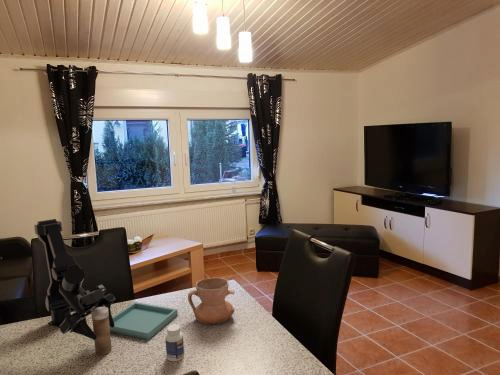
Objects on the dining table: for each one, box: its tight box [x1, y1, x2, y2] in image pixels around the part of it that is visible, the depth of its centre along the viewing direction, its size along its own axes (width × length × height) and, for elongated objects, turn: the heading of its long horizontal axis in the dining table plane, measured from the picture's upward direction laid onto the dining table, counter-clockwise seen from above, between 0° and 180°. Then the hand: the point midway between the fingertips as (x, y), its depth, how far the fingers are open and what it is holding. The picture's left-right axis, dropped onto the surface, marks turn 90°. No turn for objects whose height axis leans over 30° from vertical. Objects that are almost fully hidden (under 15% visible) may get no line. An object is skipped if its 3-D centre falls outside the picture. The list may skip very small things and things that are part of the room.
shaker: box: [90, 307, 113, 357], centre depth 115 cm, size 5×5×14 cm
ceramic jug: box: [187, 277, 236, 326], centre depth 134 cm, size 18×14×14 cm
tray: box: [109, 301, 179, 341], centre depth 133 cm, size 20×18×2 cm
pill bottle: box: [164, 324, 185, 362], centre depth 111 cm, size 5×5×10 cm
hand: (105, 332), depth 114 cm, fingers open, 7 cm apart
